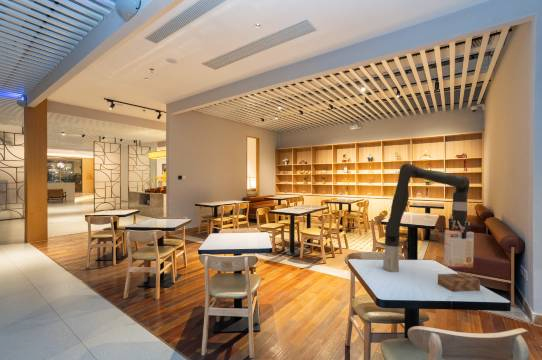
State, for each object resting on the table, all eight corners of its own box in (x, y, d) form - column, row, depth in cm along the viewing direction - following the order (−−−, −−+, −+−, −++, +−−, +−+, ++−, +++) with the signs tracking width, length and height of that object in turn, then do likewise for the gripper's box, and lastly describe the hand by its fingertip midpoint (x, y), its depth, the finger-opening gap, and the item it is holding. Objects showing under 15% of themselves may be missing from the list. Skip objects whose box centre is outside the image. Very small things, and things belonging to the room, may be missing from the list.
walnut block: (452, 291, 155) (452, 280, 155) (437, 284, 166) (437, 274, 166) (479, 290, 158) (479, 279, 158) (463, 282, 168) (463, 273, 168)
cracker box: (465, 264, 165) (467, 230, 165) (473, 268, 159) (474, 232, 159) (443, 264, 165) (444, 229, 164) (450, 267, 159) (451, 231, 158)
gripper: (444, 208, 168) (443, 235, 168) (464, 210, 154) (463, 240, 154) (455, 208, 169) (454, 234, 169) (476, 210, 155) (475, 240, 155)
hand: (458, 237), depth 162 cm, fingers closed on cracker box, 6 cm apart
